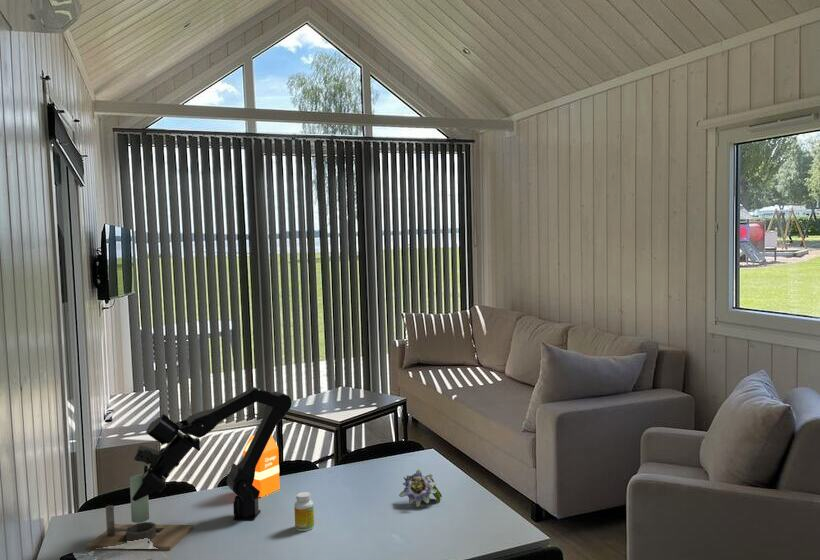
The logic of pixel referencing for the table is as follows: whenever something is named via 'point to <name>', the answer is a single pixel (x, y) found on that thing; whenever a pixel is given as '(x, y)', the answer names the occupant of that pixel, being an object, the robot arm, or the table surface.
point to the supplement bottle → (304, 512)
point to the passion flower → (420, 488)
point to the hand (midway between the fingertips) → (134, 497)
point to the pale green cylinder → (138, 501)
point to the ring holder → (139, 533)
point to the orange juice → (266, 468)
